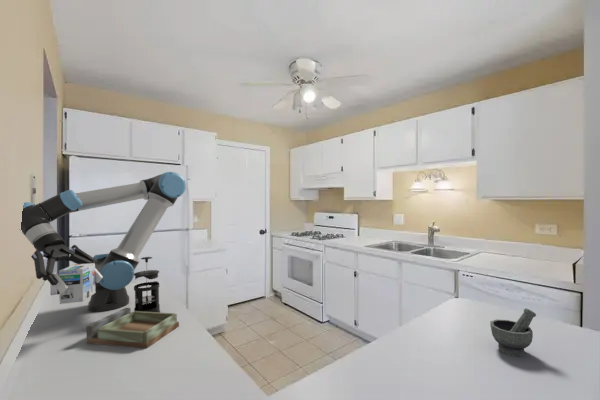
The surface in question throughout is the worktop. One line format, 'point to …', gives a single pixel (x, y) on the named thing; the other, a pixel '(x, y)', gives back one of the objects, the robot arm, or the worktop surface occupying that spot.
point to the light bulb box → (78, 282)
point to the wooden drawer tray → (131, 328)
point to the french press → (150, 301)
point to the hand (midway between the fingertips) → (83, 285)
